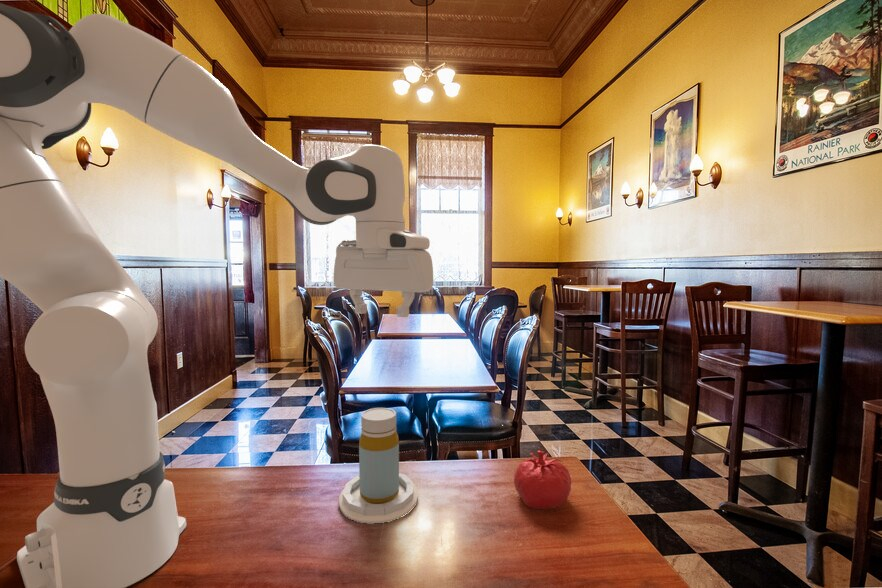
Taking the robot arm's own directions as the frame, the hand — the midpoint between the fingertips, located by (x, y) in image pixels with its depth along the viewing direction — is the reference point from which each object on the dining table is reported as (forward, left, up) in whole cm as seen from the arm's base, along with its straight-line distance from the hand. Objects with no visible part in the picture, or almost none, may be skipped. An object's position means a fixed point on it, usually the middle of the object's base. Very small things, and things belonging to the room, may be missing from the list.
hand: (381, 315), depth 77 cm
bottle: (+2, -4, -32) cm, 33 cm away
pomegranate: (+28, +10, -33) cm, 45 cm away
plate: (+2, -4, -33) cm, 33 cm away
